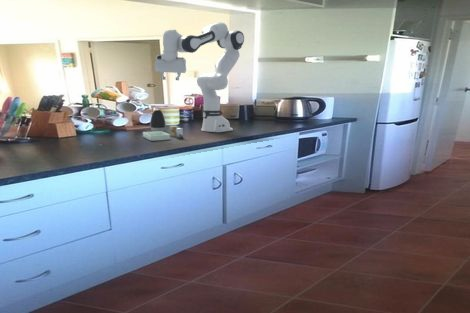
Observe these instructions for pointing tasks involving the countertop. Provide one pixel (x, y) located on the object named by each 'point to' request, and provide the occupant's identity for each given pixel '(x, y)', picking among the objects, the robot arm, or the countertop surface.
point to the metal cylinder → (179, 133)
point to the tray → (156, 135)
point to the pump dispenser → (157, 121)
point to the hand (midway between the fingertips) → (170, 80)
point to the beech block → (173, 130)
